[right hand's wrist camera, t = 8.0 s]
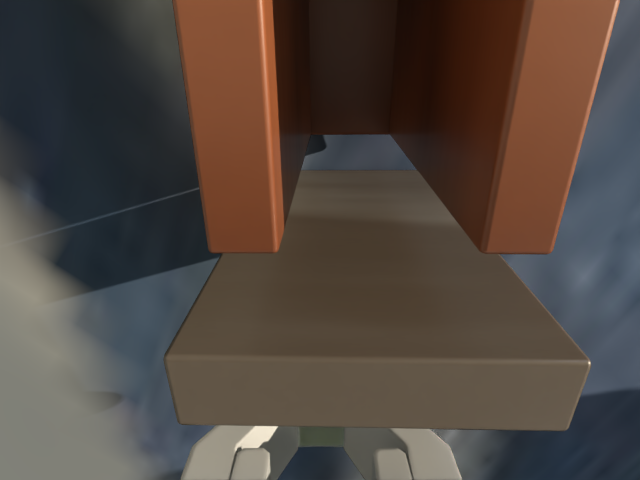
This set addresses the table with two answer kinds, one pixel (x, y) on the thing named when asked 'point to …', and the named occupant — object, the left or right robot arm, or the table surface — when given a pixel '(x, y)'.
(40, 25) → the table surface
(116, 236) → the table surface
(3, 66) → the table surface
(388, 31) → the drawer
